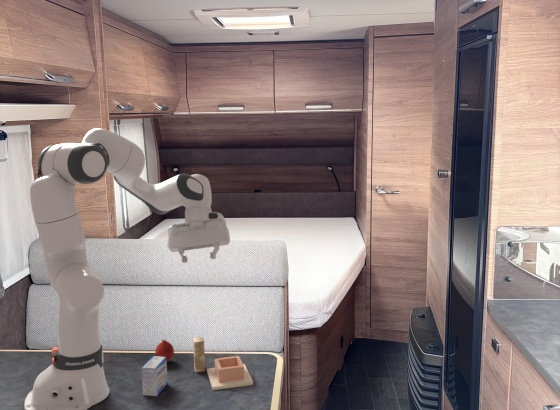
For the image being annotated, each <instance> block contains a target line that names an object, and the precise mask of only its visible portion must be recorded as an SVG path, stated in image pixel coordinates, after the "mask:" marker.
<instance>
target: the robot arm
mask: <svg viewBox="0 0 560 410" xmlns="http://www.w3.org/2000/svg"><path fill="white" fill-rule="evenodd" d="M37 160H38V161H37V177H38V178H37V179H35V181H33V182H32V184H31V185H30V188H29V194H30V195H29V196H30V198H29V199H30V206H31V211H32V215H33V219H34V224H35V226H36V231H37V234H38V237H39V240H40V244H41V247H42V251H43V257H44V261H45V268H46V272H47V276H48V281H49V284H50V287H51V289H52V290H53V291H54V292H55V294H56V295H57V298H58V302H59V313H58V314H59V315H58V322H57V326H56V327H57V339H58V343H57V344H58V347H57V346H55V347H53V348H52V350H51V352H50V353H51V365H49V366H48V367H47V368H45V369H44V370H42V371H41V372H40V373H39V374H38V376H37V377H36V379H35V380H34V383H33V386H32V387H33V388H32V389H31V390H30V391H29V392H28V394H27V396H25V399H24V405H23V408H24V410H88V409H89V408H91V407H92V406H94V405H97V404H98V403H100V402H103V401H104V400H105V399H106V398H107V397H108V396H109V394H110V390H111V389H110V388H109V386H108V382H107V380H106V375H105V370H104V349H103V345H102V343H101V330H100V329H101V328H100V315H101V308H102V307H101V306H102V300H103V299H104V295H105V289H104V283H103V281H102V279H101V277H100V275H98V273H96V271H94V270H93V269H92V268H91V266H90V264H89V262H88V257H87V252H86V251H87V250H86V234H85V231H84V228H83V223H82V220H81V217H80V213H79V210H78V207H77V204H76V203H77V202H76V199H75V189H76V186H77V185H90V184H91V185H92V184H94V183H96V182H99V181H100V180H101V179H102V178H103V177H104V176H105V174H106V172H107V173H109V174H111V175H112V176H113V179H114V181H115V183H117V184H118V185H119V186H120V187H121V188H122V189H123V190H125V191H126V192H128V193H129V194H131V195H132V196H134V197H135V198H136V199H138V200H139V201H141V202H142V203H143V204H144V205H145V206H146V207H147V208H148V209H149V210H150V211H152V212H153V213H155V214H157V215H160V216H161V215H162V216H163V215H166V214H167V213H169V212H171V211H172V210H174V209H176V208H180V207H182V206H183V207H185V210H184V222H182V223H175V224H172V225H171V226H170V227H169V228H168V230H167V235H168V239H167V248H168V250H169V251H171V252H172V253H176V252H178V254H179V256H180V257H181V263H182V264H186V263H188V259H189V258H188V256H187V255H184V254H185V251H191V250H198V249H206V248H213V251H211V252H209V254H210V255H209V258H210V260H216V259H217V253H218V252H219V250H220V247H221V246H228V245H229V244H230V242H231V236H230V230H229V228H228V226H227V221H226V218H225V217H224V215H223V214H222V213H220V212H215V211H212V208H211V206H212V202H213V199H212V196H213V195H212V188H211V184H210V181H209V178H208V177H207V176H205V175H203V174H200V173H195V174H188V173H184V172H183V173H180V174H177V175H175V176H172V177H170V178H169V179H166V180H163V181H162V182H159V183H154V184H153V183H152V184H151V183H149V182H147V181H146V180H145V179H143V178H142V177H140V176H141V175H142V174H143V171H144V169H145V164H146V158H145V154H144V151H143V150H142V148H141V147H140V146H139V145H138V144H136V143H134V142H133V141H131V140H129V139H127V138H125V137H124V136H122V135H120V134H118V133H115V132H113V131H111V130H107V129H105V128H101V127H100V128H99V127H97V128H96V127H95V128H93V129H91V130H89V131H88V132H87V133H86V134H85V136H84V137H83V139H82V142H81V143H78V142H77V143H75V142H66V143H65V142H64V143H55V144H51V145H49V146H47V147H45V148H44V149H43V150H42V151H41V152H40V153H39V156H38V159H37Z"/></svg>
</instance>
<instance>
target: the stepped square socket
mask: <svg viewBox="0 0 560 410" xmlns="http://www.w3.org/2000/svg"><path fill="white" fill-rule="evenodd" d="M206 373H207V376H208V380H209V383H210V385H211V390H212V391H218V390H224V389H233V388H239V387H247V386H253V385H254V381H253V379H252V377H251V374H250V372H249V370H248V368H247V365H246V364H245V363H243V361H242V360H241V357H240V355H236V356H226V357H220V358H214V367H211V368H206Z"/></svg>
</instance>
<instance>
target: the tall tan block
mask: <svg viewBox="0 0 560 410" xmlns="http://www.w3.org/2000/svg"><path fill="white" fill-rule="evenodd" d="M192 339H193V340H192V341H193V342H192V343H193V344H192V345H193V346H192V347H193V369H194V372H195V373H202V372H203V373H204V372H206V361H205V340H204V337H203V336H202V337H193V338H192Z"/></svg>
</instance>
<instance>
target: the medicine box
mask: <svg viewBox="0 0 560 410" xmlns="http://www.w3.org/2000/svg"><path fill="white" fill-rule="evenodd" d="M167 363H168V362H166V357H160V356H156V355H154V356H152V357H150V358H149V360H148V361H147V362H146V363H145V364H143V366H142V367H141V380H142V381H141V384H142V395H143V396H148V397H158V396H159V395H160V393H161V392H162V391H163V389H164V388H166V386H167V385H168V368H167V367H168V365H167Z"/></svg>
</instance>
